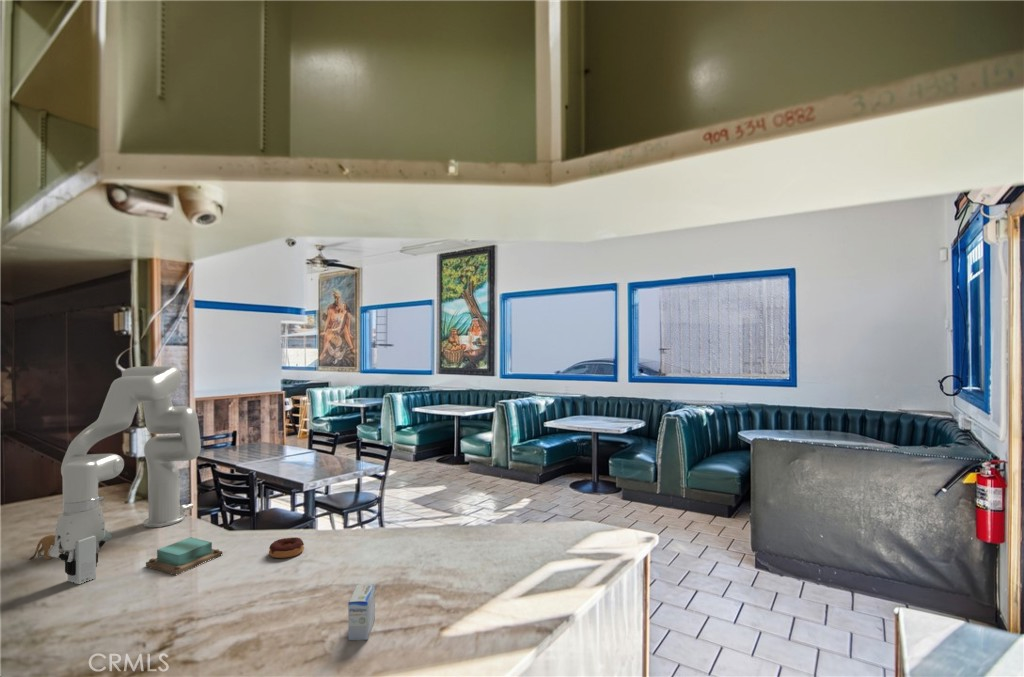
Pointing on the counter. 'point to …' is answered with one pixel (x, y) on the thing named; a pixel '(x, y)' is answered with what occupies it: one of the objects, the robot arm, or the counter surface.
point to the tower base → (181, 568)
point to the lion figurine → (44, 546)
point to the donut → (286, 547)
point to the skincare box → (84, 561)
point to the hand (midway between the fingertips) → (81, 569)
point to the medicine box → (361, 612)
